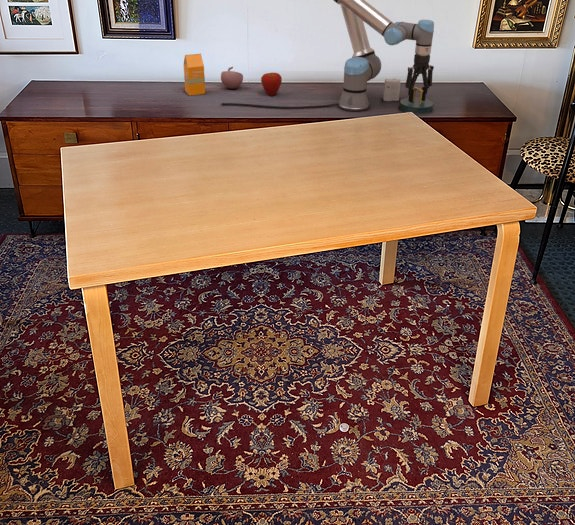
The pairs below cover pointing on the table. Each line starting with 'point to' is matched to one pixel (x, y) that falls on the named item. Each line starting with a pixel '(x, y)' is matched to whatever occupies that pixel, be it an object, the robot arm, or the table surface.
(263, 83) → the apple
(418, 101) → the tin lid
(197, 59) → the orange juice
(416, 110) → the tin
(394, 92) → the small box
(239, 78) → the decorative fruit
